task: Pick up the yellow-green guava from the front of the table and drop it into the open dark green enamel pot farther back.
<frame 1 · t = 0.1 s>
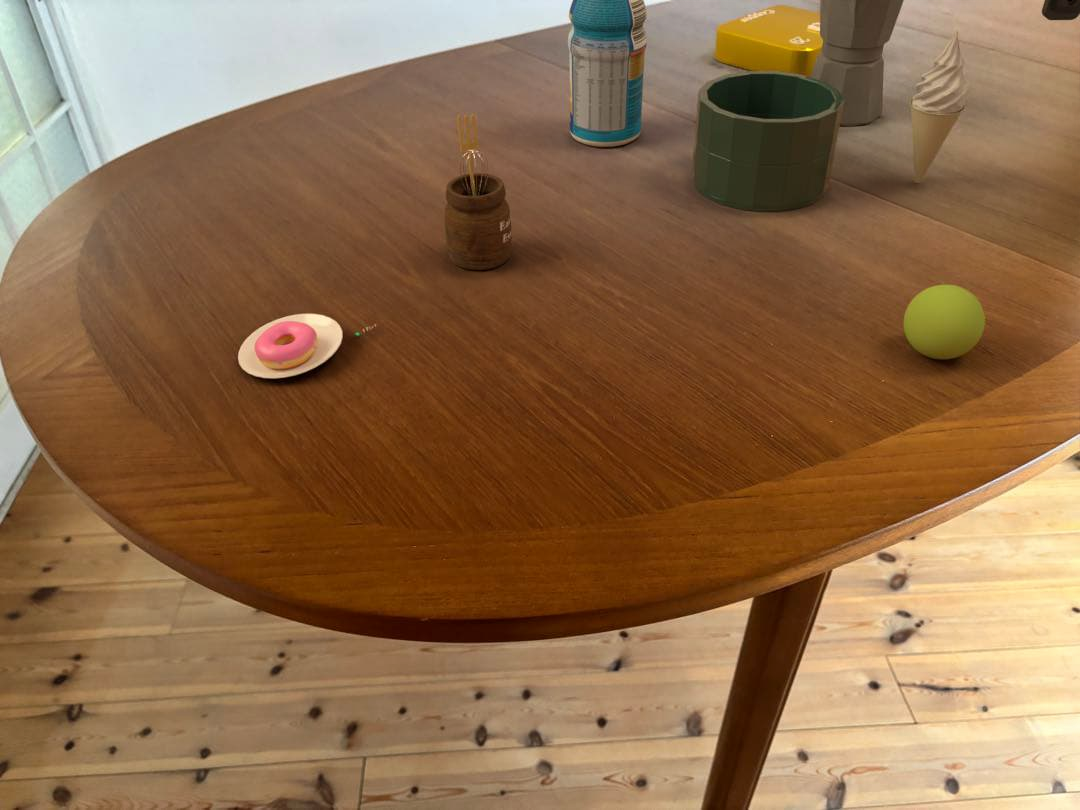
hand: (1036, 0, 64), 23 cm above the table, tool pointing down, fingers open, 8 cm apart
coffeepot: (841, 110, 109), on the table
guava: (934, 352, 71), on the table
element tile: (786, 60, 124), on the table
donut: (309, 348, 73), on the table
utensil holder: (480, 257, 84), on the table
ice cream cone: (917, 184, 93), on the table
beverage bottle: (605, 136, 105), on the table
pot: (758, 181, 95), on the table
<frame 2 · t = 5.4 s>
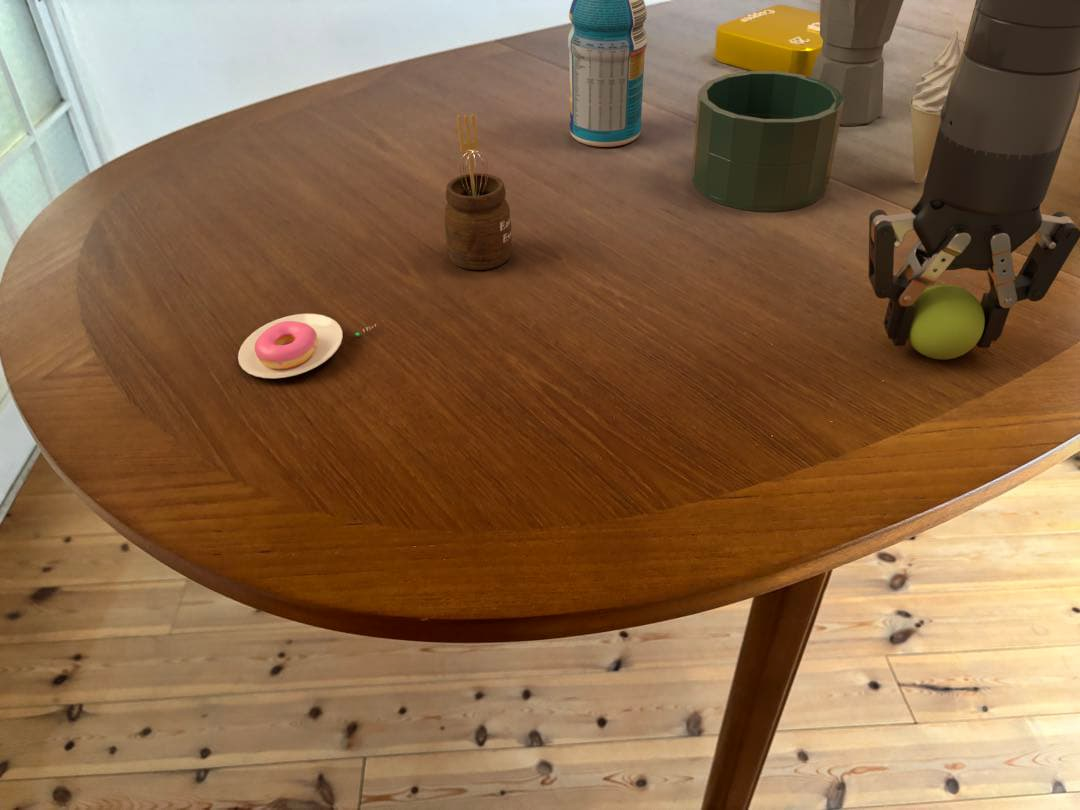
hand: (938, 340, 70), 1 cm above the table, tool pointing down, fingers closed on guava, 5 cm apart
guava: (934, 352, 71), on the table, touching gripper
everything else where it was.
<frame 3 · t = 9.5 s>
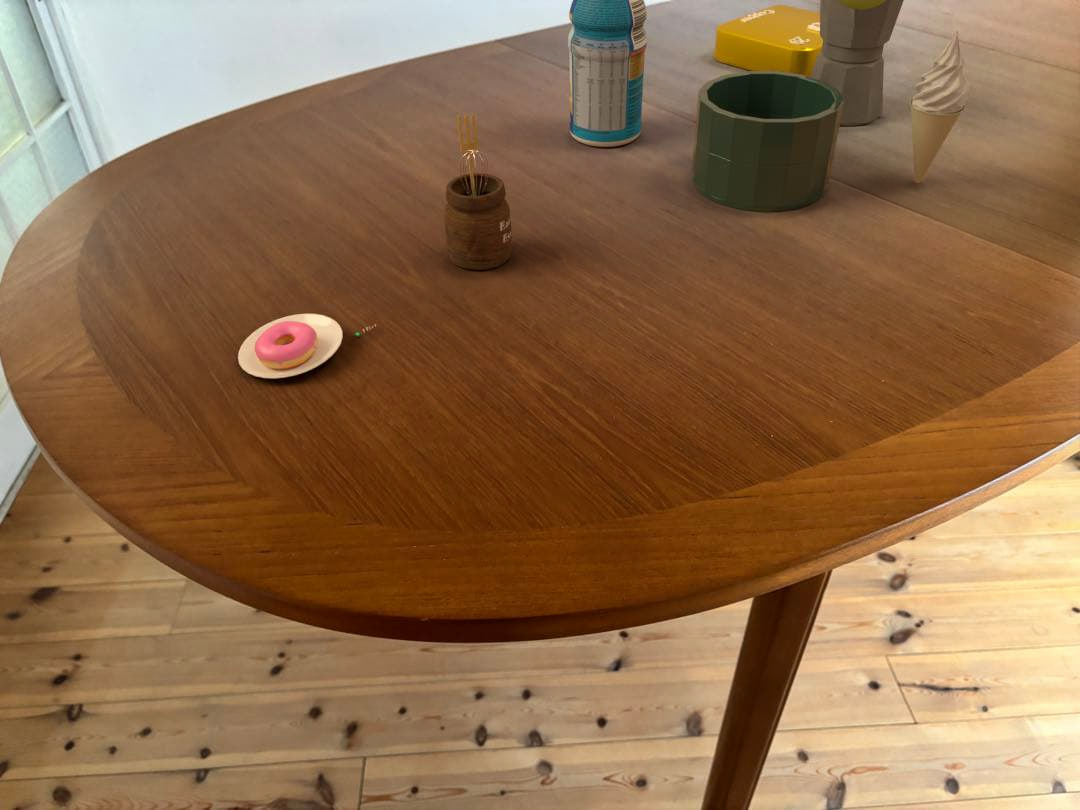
guava: (858, 8, 72), point 20 cm above the table, touching gripper
everything else where it was.
when the fingers open (8 cm above the table, at t = 14.0 s): guava drops 7 cm, resting on pot.
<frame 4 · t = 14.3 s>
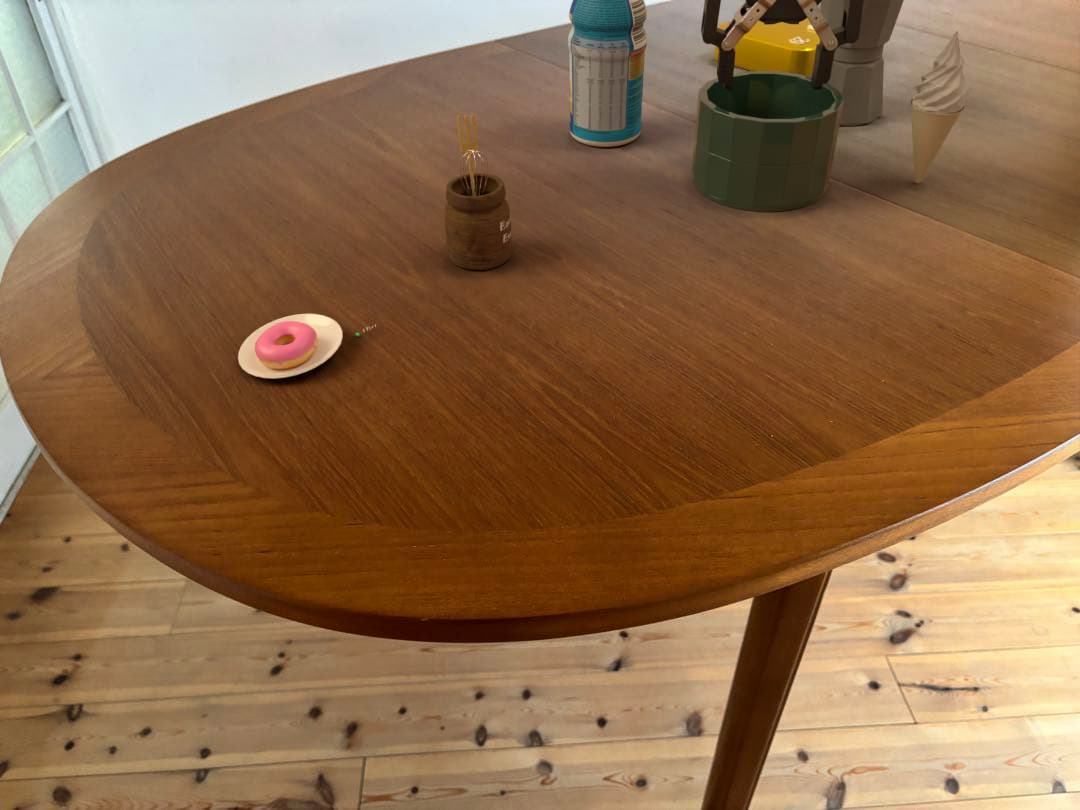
hand: (771, 87, 88), 10 cm above the table, tool pointing down, fingers open, 8 cm apart
guava: (759, 177, 94), resting on pot
everything else where it was.
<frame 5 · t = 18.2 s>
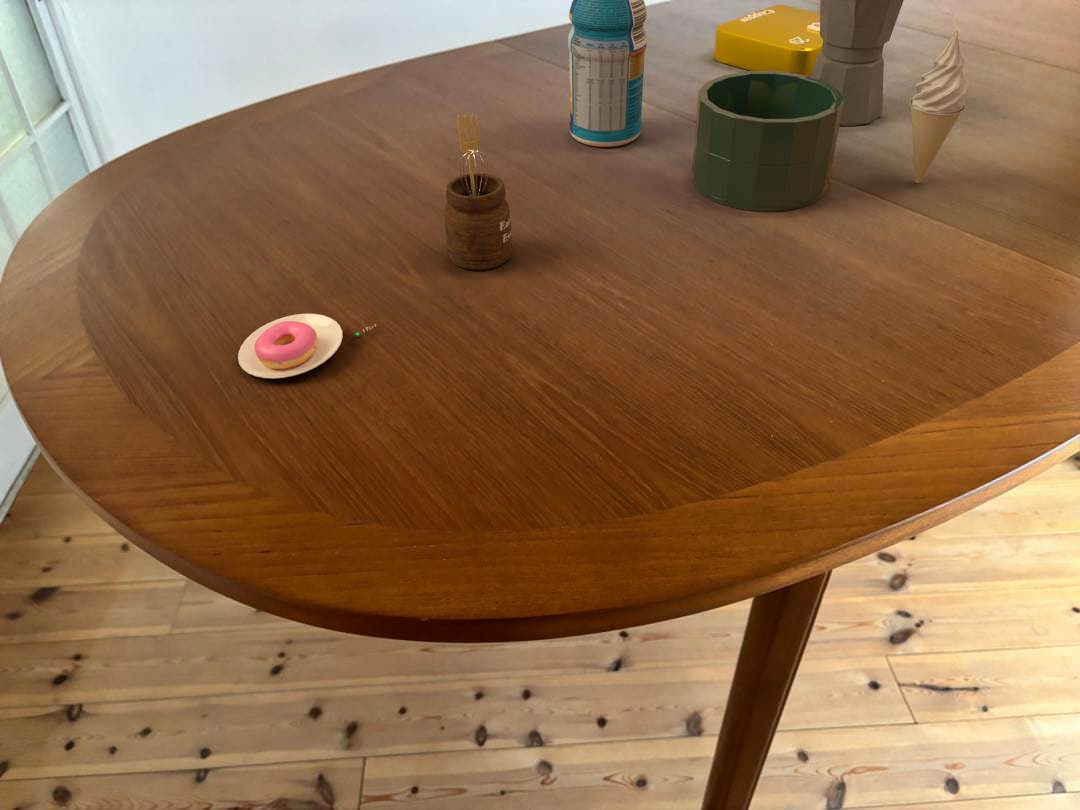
nothing on the table moved.
at the end: guava inside the target area in the pot (0.0 cm from its centre), point 0.5 cm above the pot's base; the gripper is holding nothing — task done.
